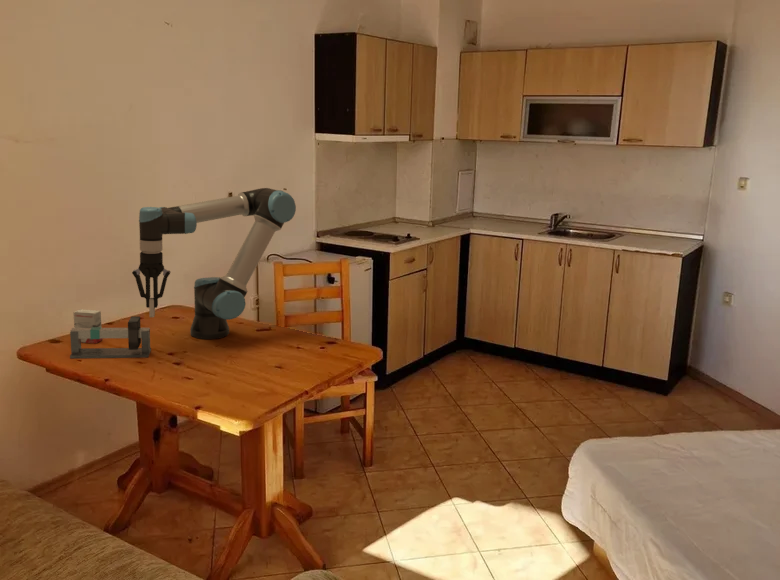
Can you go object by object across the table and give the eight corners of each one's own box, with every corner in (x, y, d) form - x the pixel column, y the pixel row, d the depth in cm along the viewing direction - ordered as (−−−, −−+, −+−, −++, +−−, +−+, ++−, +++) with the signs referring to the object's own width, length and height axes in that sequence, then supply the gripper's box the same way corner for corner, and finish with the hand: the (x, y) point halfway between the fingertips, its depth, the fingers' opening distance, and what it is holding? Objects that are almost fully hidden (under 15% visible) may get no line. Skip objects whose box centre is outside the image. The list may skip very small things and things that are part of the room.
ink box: (103, 339, 260) (101, 310, 258) (96, 343, 256) (95, 313, 253) (81, 338, 261) (79, 308, 258) (74, 341, 256) (72, 311, 254)
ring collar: (140, 342, 251) (140, 316, 248) (137, 349, 243) (136, 322, 241) (132, 342, 250) (131, 316, 248) (128, 349, 242) (127, 322, 240)
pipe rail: (151, 350, 252) (150, 325, 250) (148, 357, 244) (147, 331, 242) (75, 351, 247) (74, 325, 244) (70, 358, 239) (68, 331, 237)
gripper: (171, 250, 245) (172, 313, 250) (133, 249, 242) (134, 313, 247) (169, 254, 237) (170, 319, 243) (129, 253, 235) (131, 318, 240)
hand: (152, 316), depth 245 cm, fingers closed
